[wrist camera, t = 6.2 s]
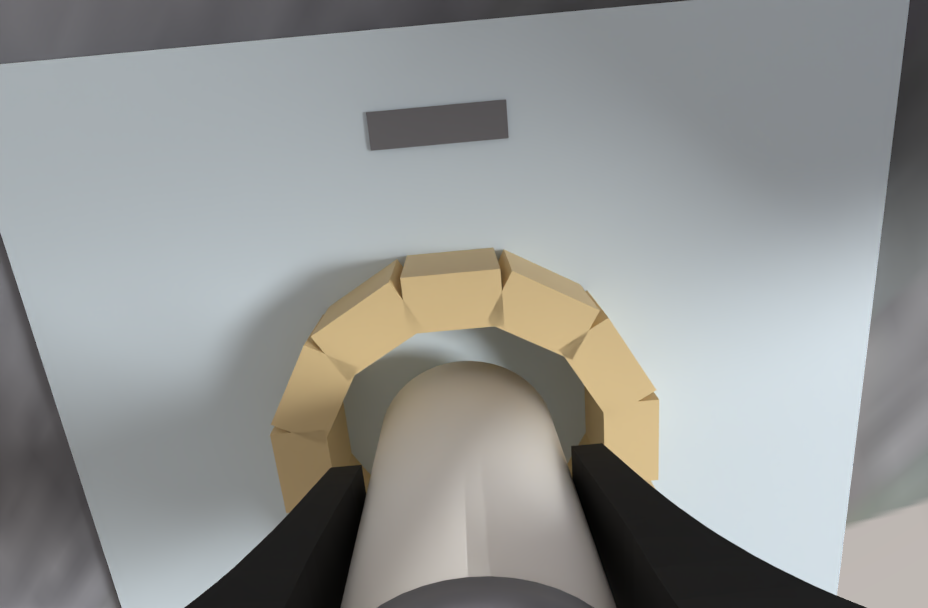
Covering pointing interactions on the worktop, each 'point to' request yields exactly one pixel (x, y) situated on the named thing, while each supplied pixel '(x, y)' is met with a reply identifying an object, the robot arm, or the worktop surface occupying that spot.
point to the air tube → (472, 502)
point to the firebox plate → (458, 259)
